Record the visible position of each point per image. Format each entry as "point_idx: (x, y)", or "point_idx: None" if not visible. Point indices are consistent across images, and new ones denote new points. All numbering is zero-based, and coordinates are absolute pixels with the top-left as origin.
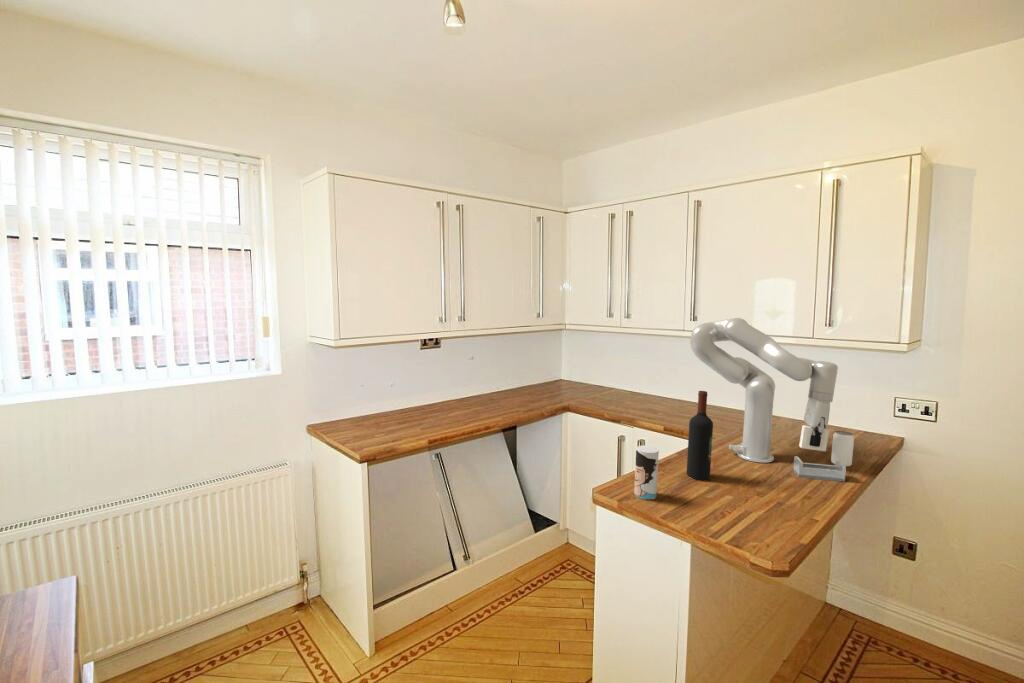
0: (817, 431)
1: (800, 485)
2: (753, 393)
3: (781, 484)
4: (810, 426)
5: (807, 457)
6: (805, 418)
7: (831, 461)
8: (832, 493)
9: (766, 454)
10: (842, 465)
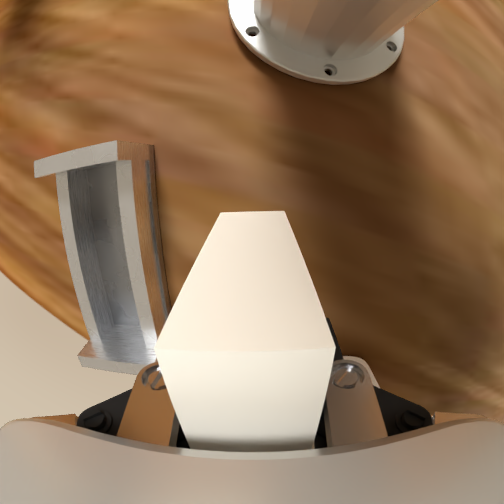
0: (78, 422)
1: (18, 156)
2: None
3: (14, 96)
4: (285, 442)
5: (398, 276)
6: (450, 491)
7: (343, 356)
8: (4, 245)
9: (269, 22)
10: (82, 357)
